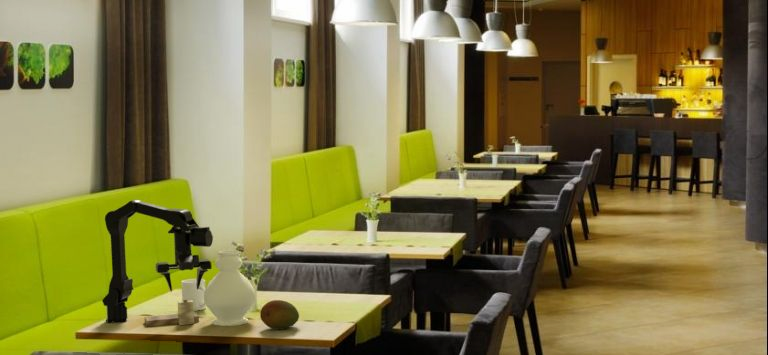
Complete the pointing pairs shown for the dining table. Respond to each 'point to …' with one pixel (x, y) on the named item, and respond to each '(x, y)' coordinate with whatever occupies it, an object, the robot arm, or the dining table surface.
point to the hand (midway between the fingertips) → (184, 290)
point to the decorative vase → (229, 291)
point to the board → (165, 319)
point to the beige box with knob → (185, 312)
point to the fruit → (279, 314)
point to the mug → (194, 293)
